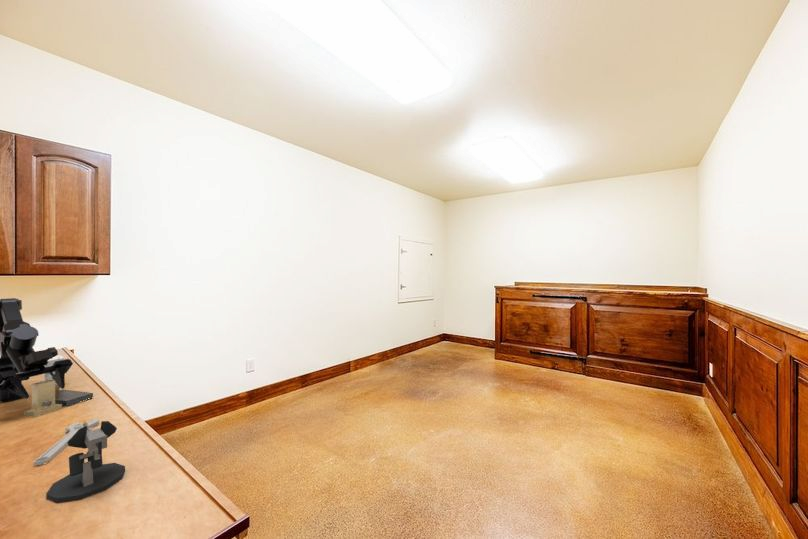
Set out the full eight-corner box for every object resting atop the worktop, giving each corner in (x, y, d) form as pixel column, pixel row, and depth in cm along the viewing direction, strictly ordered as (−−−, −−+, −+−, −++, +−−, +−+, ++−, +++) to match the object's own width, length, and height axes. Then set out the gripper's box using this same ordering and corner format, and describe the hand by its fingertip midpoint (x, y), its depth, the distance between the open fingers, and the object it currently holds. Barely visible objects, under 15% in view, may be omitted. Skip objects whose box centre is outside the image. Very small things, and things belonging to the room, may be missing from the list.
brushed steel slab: (35, 402, 121) (35, 388, 121) (63, 394, 129) (63, 381, 129) (66, 406, 117) (66, 392, 117) (93, 398, 125) (92, 384, 125)
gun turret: (113, 451, 87) (112, 401, 87) (132, 481, 74) (132, 422, 74) (40, 474, 77) (40, 418, 77) (49, 514, 64) (49, 446, 65)
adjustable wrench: (45, 467, 81) (45, 459, 81) (10, 472, 79) (10, 465, 79) (102, 422, 105) (102, 416, 105) (76, 425, 103) (76, 420, 103)
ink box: (44, 385, 140) (43, 357, 140) (61, 382, 144) (60, 354, 144) (47, 390, 134) (47, 360, 135) (64, 386, 138) (64, 357, 139)
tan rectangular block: (24, 415, 110) (24, 384, 110) (51, 407, 117) (51, 378, 117) (34, 417, 109) (34, 386, 109) (61, 408, 115) (61, 379, 115)
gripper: (-5, 347, 105) (19, 386, 102) (69, 336, 123) (91, 368, 120) (-20, 371, 107) (2, 409, 104) (54, 356, 125) (75, 389, 122)
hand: (46, 392), depth 112 cm, fingers open, 9 cm apart
